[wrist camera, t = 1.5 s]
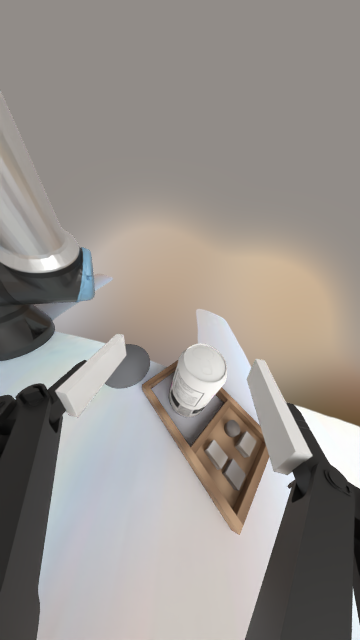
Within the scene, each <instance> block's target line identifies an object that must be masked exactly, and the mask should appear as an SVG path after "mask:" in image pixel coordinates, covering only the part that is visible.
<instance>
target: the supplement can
mask: <svg viewBox="0 0 360 640" xmlns="http://www.w3.org/2000/svg"><path fill="white" fill-rule="evenodd" d="M226 378H227V365H226V361H225V359H224V357H223V355H222V354H221V353H220V352H219V351H218V350H217V349H215V348H213V347H212V346H209V345H206V344H195V345H192V346H190V347H189V348H187V349H186V350H185V351H183V352H182V354H181V356H180V357H179V360H178V364H177V367H176V371H175V374H174V378H173V381H172V385H171V388H170V393H169V399H170V404H171V405H172V407H173V409H174V410H175V411H176V412H177V413H178V414H179V415H181V416H184V417H194V416H196V415H198V414H199V413H200V412H201V411H202V410H203V409H204V407H205V406H206V405H207V404H208V403H209V401H210V400H211V399H212V398H213V397H214V395H215V394H216V393H217V392H218V391H219V390H220V388H221V387H222V386H223V385H224V383H225V382H226Z"/></svg>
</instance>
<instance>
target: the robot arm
mask: <svg viewBox="0 0 360 640" xmlns="http://www.w3.org/2000/svg"><path fill="white" fill-rule="evenodd" d="M94 295H95V289H94V276H93V266H92V257H91V252H90V250H88V249H85V248H82V247H81V248H79V245H78V243H77V241H76V239H75V238H74V237H73V236H72V235H71V234H70V233H68V232H66V231H65V230H63V229H62V228H61V226H60V224H59V222H58V219H57V217H56V215H55V213H54V210H53V208H52V206H51V203H50V201H49V199H48V197H47V194H46V192H45V190H44V188H43V185H42V183H41V181H40V179H39V176H38V174H37V172H36V170H35V167H34V165H33V163H32V160H31V158H30V156H29V154H28V151H27V149H26V147H25V145H24V142H23V140H22V138H21V136H20V133H19V131H18V129H17V127H16V124H15V122H14V120H13V118H12V115H11V113H10V111H9V108H8V106H7V104H6V102H5V99H4V97H3V95H2V93H1V90H0V361H3V360H8V359H12V358H16V357H19V356H22V355H24V354H27V353H29V352H31V351H33V350H35V349H37V348H38V347H40V346H41V345H43V344H44V343H45V342H46V341H48V340H49V339H50V337H51V336H52V335H53V333H54V330H55V326H54V324H53V322H52V320H51V318H50V317H49V316H48V315H46V314H45V313H44V312H42V311H41V310H40V309H38V308H37V307H36V306H34V305H33V304H43V303H63V302H79V301H87V300H91V299H92V298H93V297H94ZM125 356H126V348H125V341H124V335H121V334H116V335H115V336H114V337H113V338H112V339H111V340H110V341H109V342H107V343H106V344H105V345H104V346H103V347H102V348H101V349H100V350H99V351H98V352H97V353H96V354H94V355H93V356H92V357H91V358H90V359H89V360H88V361H86V360H83V361H82V362H80V363H78V364H77V365H75V366H74V367H73V368H72V369H71V370H70V371H69V372H67V374H65V375H64V376H63V377H62V378H61V379H59V380H58V381H57V382H56V383H55V384H54V385H53V386H51V387H50V388H49V389H48V390H47V388H46V387H45V385H44V384H40V383H39V384H34V385H31V386H28V387H27V388H25V389H23V390H22V391H21V392H20V393H18V395H17V396H16V397H15V398H16V400H14V398H13V397H12V396H10V395H4V396H0V640H36V639H37V632H38V624H39V614H40V602H39V596H38V583H39V576H40V569H41V563H42V556H43V549H44V542H45V535H46V529H47V522H48V515H49V508H50V502H51V495H52V488H53V481H54V475H55V468H56V461H57V454H58V447H59V441H60V434H61V427H62V420H63V413H64V412H65V411H66V412H67V413H68V415H69V416H73V417H77V418H78V417H79V416H80V414H81V413H82V412H83V411H84V409H85V408H86V407H87V405H88V404H89V403H90V402H91V400H92V399H93V398H94V396H95V395H96V394H97V392H98V391H99V390H100V389H101V387H102V386H103V385H104V383H105V382H106V381H107V380H108V378H109V377H110V376H111V374H112V373H113V372H114V371H115V369H116V368H117V367H118V365H119V364H120V363H121V362H122V360H123V359H124V358H125ZM247 382H248V385H249V389H250V392H251V396H252V399H253V402H254V406H255V409H256V413H257V416H258V419H259V423H260V426H261V430H262V433H263V437H264V440H265V443H266V447H267V450H268V454H269V457H270V460H271V464H272V467H273V471H274V472H278V473H282V474H285V475H288V474H290V473H291V472H293V474H294V477H295V480H294V481H292V482H291V483H290V484H289V485H288V486H287V487H288V488H289V489H290V488H291V487H292V488H291V492H290V495H289V498H288V501H287V505H286V508H285V511H284V514H283V518H282V521H281V524H280V527H279V531H278V534H277V537H276V540H275V544H274V547H273V550H272V553H271V557H270V560H269V563H268V566H267V570H266V573H265V576H264V579H263V582H262V586H261V589H260V592H259V595H258V599H257V602H256V605H255V608H254V612H253V615H252V618H251V621H250V625H249V628H248V631H247V634H246V638H245V640H351V634H352V596H353V589H354V595H355V601H356V606H357V612H358V617H359V623H360V489H359V488H358V487H356V486H354V485H352V484H351V483H349V482H348V481H347V480H346V478H345V477H344V476H343V475H342V474H341V473H340V472H339V471H338V470H337V469H336V468H334V467H333V466H331V465H330V463H329V462H328V460H327V458H326V457H325V455H324V453H323V451H322V450H321V448H320V446H319V444H318V443H317V441H316V439H315V437H314V435H313V434H312V432H311V430H310V428H309V427H308V425H307V423H306V422H305V419H304V418H303V416H302V414H301V412H300V411H299V410H298V409H297V408H296V407H295V406H294V405H293V404H290V403H286V402H285V400H284V398H283V396H282V394H281V392H280V391H279V388H278V386H277V384H276V382H275V380H274V378H273V376H272V374H271V372H270V370H269V368H268V366H267V364H266V362H265V361H264V360H260V359H255V362H254V364H253V366H252V368H251V370H250V373H249V375H248V377H247Z"/></svg>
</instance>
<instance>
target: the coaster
mask: <svg viewBox="0 0 360 640" xmlns="http://www.w3.org/2000/svg"><path fill="white" fill-rule="evenodd" d="M125 348H126V356H125V358H124V359H123V360H122V362H121V363H120V364H119V365H118V367H117V368H116V369H115V371H114V372H113V373H112V374H111V376H110V377H109V378H108V380H107V381H106V382H105V384H106V385H108V386H110V387H113V388H127V387H130V386H133V385H135V384H136V383H138V382H139V381H141V380H142V379H143V378H144V377H145V375H146V374H147V372H148V370H149V366H150V358H149V355H148V353H147V352H146V351H145V350H144V349H143V348H141V347H139V346H137V345H131V344H126V345H125Z"/></svg>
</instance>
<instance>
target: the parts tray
mask: <svg viewBox="0 0 360 640" xmlns="http://www.w3.org/2000/svg"><path fill="white" fill-rule="evenodd" d="M177 364H178V360H177V361H176V362H175V363H173V364H172V365H170V366H169V367H167V368H166V369H164V370H163V371H162V372H160V373H159V374H157V375H156V376H154V377H153V378H151V379H150V380H148V381H147V382H146V383H144V384H143V385H142V390H143V392H144V393H145V395H146V397H147V398H148V400H149V401H150V403H151V404H152V406H153V408H154V409H155V411H156V412H157V414H158V415H159V417H160V419H161V420H162V422H163V423H164V425H165V426H166V428H167V430H168V431H169V433H170V434H171V436H172V437H173V439H174V441H175V442H176V444H177V445H178V447H179V448H180V450H181V452H182V453H183V455H184V456H185V458H186V459H187V461H188V463H189V464H190V466H191V467H192V469H193V470H194V472H195V474H196V475H197V477H198V478H199V480H200V481H201V483H202V485H203V486H204V488H205V489H206V491H207V492H208V494H209V496H210V497H211V499H212V500H213V502H214V503H215V505H216V506H217V508H218V510H219V511H220V513H221V514H222V516H223V517H224V519H225V521H226V522H227V524H228V525H229V527H230V528H231V530H232V531H234V532H235V533H237V534H239V535H240V533H241V530H242V527H243V525H244V522H245V519H246V517H247V514H248V512H249V509H250V506H251V504H252V501H253V498H254V496H255V493H256V490H257V488H258V485H259V483H260V480H261V477H262V475H263V472H264V469H265V467H266V464H267V461H268V459H269V454H268V450H267V447H266V443H265V440H264V437H263V433H262V430H261V426H260V425H259V424H258V423H257V422H256V421H255V420H254V419H253V418H252V417H251V416H250V415H249V414H248V413H247V412H246V411H245V410H244V409H243V408H242V407H241V406H240V405H239V404H238V403H237V402H236V401H235V400H234V399H233V398H232V397H231V396H230V395H229V394H228V393H227V392H226V391H225V390H224V389H223V388H222V387H221V388H220V390H219V391H218V392H217V393H216V395H217V397H218V398H219V399H220V400H221V401H222V402H223V403H224V404H223V405H222V407H221V408H220V409H219V411H218V412H217V413H216V414H215V416H214V417H213V418H212V420H211V421H210V422H209V423H208V425H207V426H206V427H205V429H204V430H203V431H202V432H201V434H200V435H199V436H198V437H197V439H196V440H195V441H194V443H193V444H192V445H191V446H189V445H188V443H187V442H186V440H185V439H184V437H183V436H182V434H181V433H180V431H179V430H178V428H177V427H176V425H175V424H174V422H173V421H172V420H171V418H170V417H169V415H168V414H167V412H166V411H165V409H164V408H163V406H162V405H161V403H160V402H159V400H158V399H157V397H156V396H155V394H154V393H153V391H152V390H151V388H153V387H154V386H155V385H157V384H158V383H159V382H161V381H162V380H163V379H165V378H166V377H167V376H169V375H170V374H172V373H173V372H174V371H176V367H177Z"/></svg>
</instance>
